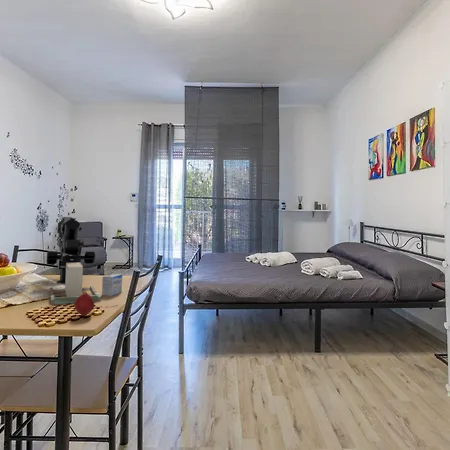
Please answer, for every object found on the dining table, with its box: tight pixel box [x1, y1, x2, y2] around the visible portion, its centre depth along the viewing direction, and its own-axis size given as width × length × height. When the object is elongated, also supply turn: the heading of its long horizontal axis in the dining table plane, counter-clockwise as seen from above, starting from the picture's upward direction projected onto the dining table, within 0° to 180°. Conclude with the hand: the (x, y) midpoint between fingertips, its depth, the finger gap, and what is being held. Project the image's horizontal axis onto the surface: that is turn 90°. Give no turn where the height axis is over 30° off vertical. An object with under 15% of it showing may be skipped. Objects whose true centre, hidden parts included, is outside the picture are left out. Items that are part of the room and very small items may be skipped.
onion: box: [74, 291, 95, 317], centre depth 112 cm, size 6×6×8 cm
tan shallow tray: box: [49, 285, 102, 305], centre depth 132 cm, size 23×16×4 cm
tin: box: [64, 262, 84, 297], centre depth 135 cm, size 12×5×11 cm, turn 28°
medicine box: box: [101, 273, 123, 297], centre depth 139 cm, size 8×4×9 cm, turn 168°
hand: (71, 273), depth 144 cm, fingers closed
